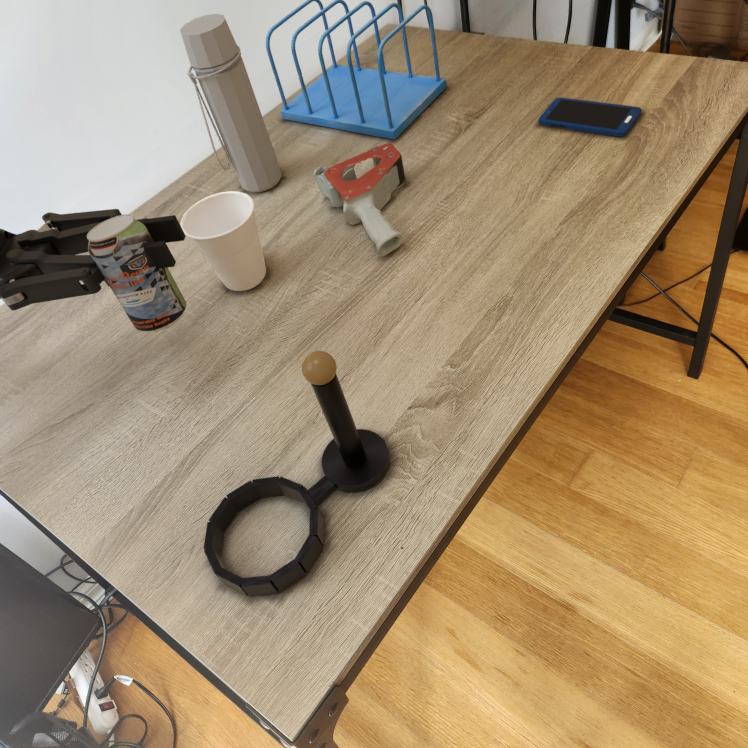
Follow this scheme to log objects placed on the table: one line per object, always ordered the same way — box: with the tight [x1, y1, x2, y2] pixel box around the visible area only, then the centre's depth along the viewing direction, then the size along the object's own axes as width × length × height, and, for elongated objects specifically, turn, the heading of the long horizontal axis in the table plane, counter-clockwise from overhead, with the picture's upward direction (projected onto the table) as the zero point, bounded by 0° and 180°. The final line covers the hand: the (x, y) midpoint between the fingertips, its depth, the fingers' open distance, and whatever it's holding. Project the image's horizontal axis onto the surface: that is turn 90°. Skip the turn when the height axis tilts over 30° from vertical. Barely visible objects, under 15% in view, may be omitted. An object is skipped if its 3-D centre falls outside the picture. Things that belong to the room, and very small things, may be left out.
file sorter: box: [265, 0, 447, 140], centre depth 111 cm, size 25×17×15 cm
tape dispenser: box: [313, 142, 406, 257], centre depth 94 cm, size 18×5×20 cm
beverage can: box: [87, 213, 187, 333], centre depth 67 cm, size 6×7×12 cm
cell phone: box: [537, 97, 642, 138], centre depth 100 cm, size 7×14×1 cm, turn 56°
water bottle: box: [179, 13, 283, 194], centre depth 97 cm, size 9×8×25 cm
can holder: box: [203, 350, 391, 598], centre depth 59 cm, size 13×20×17 cm, turn 152°
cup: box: [180, 190, 267, 292], centre depth 87 cm, size 10×10×11 cm
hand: (174, 240), depth 66 cm, fingers closed on beverage can, 3 cm apart
